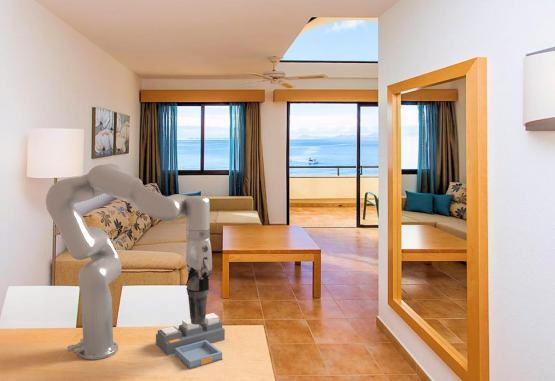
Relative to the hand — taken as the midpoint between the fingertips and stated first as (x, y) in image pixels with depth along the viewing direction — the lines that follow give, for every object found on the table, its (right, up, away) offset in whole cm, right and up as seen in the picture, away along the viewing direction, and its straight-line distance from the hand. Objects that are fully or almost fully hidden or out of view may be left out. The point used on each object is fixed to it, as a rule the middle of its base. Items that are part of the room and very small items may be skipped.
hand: (198, 287), depth 153 cm
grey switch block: (-5, -23, +14) cm, 27 cm away
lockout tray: (0, -24, +3) cm, 24 cm away
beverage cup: (0, -12, +1) cm, 12 cm away
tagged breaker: (-11, -19, +9) cm, 24 cm away
